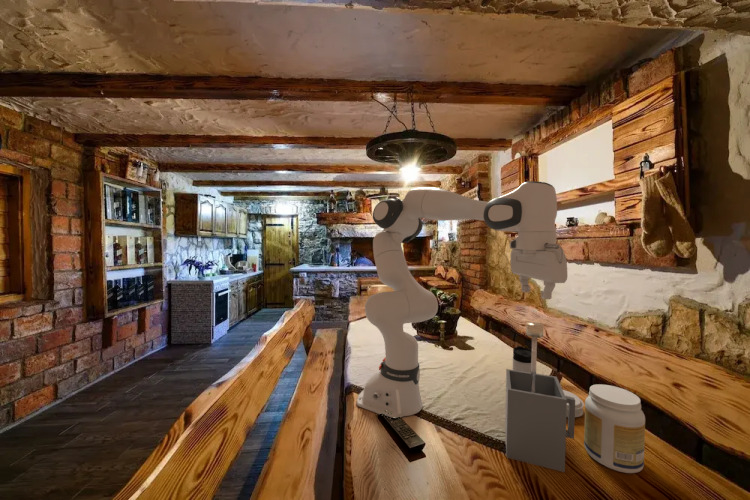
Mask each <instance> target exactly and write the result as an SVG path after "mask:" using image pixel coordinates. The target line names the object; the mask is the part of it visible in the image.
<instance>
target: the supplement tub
mask: <svg viewBox="0 0 750 500" xmlns="http://www.w3.org/2000/svg"><path fill="white" fill-rule="evenodd" d="M641 402H642V401H641V398H640V397H639V396H638V395H636V394H635V393H633V392H631V391H630V390H628V389H625V388H622V387H618V386H614V385H609V384H604V383H603V384H602V383H601V384H600V383H599V384H597V383H596V384H593V385H591V386H590V387H589V392H588V396H586V398H585V401H584V433H583V434H584V435H583V436H584V437H583V439H584V441H583V444H584V449H585V450H586V453H588V455H589V456H590V457H591V458H592V459H593V460H595V461H596V462H598V463H599V464H601V465H603V466H604V467H607V468H608V469H610V470H613V471H616V472H620V473H625V474H636V473H639V472H641V471H642V470H643V468H644V466H645V441H646V440H645V438H646V436H645V435H646V433H645V432H646V415H645V414H644V411H643V410H642V404H641Z"/></svg>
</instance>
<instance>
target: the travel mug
mask: <svg viewBox="0 0 750 500" xmlns="http://www.w3.org/2000/svg"><path fill="white" fill-rule="evenodd" d="M512 349H513V350H512V370H516V371H523V372H529V373H531V357H532V349H530V348H527V347H525V346H523V345H517V346H516V347H514V348H512Z"/></svg>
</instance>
